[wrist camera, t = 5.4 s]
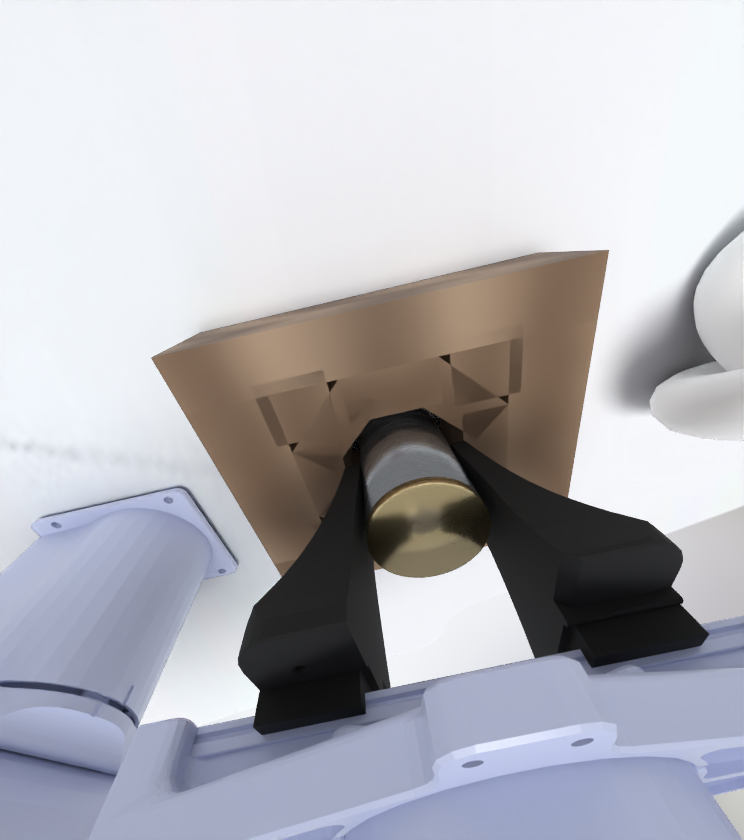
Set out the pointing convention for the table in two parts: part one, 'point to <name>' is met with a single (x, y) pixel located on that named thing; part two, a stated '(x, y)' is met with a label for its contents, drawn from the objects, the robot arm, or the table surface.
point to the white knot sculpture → (730, 346)
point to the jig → (393, 383)
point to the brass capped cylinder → (418, 498)
